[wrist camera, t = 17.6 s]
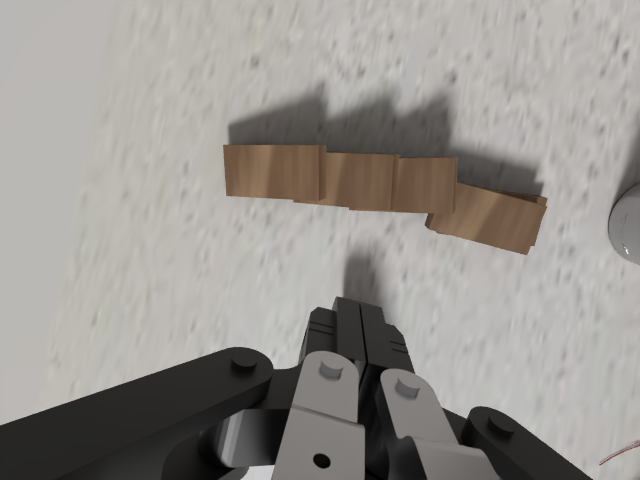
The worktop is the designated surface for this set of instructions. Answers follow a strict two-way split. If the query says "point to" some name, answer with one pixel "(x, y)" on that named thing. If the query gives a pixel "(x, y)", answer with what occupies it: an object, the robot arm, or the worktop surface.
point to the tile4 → (360, 181)
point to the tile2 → (490, 219)
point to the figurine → (621, 452)
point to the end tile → (276, 171)
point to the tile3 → (426, 185)
